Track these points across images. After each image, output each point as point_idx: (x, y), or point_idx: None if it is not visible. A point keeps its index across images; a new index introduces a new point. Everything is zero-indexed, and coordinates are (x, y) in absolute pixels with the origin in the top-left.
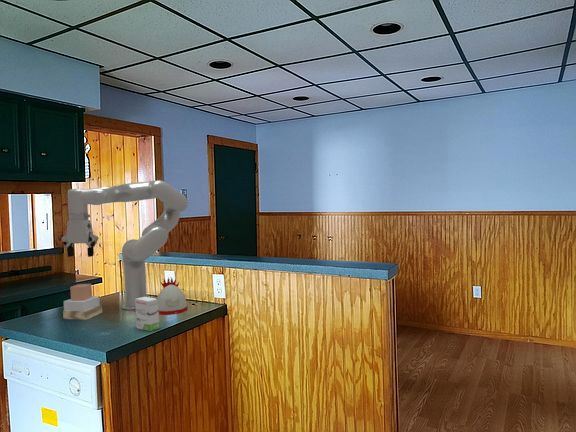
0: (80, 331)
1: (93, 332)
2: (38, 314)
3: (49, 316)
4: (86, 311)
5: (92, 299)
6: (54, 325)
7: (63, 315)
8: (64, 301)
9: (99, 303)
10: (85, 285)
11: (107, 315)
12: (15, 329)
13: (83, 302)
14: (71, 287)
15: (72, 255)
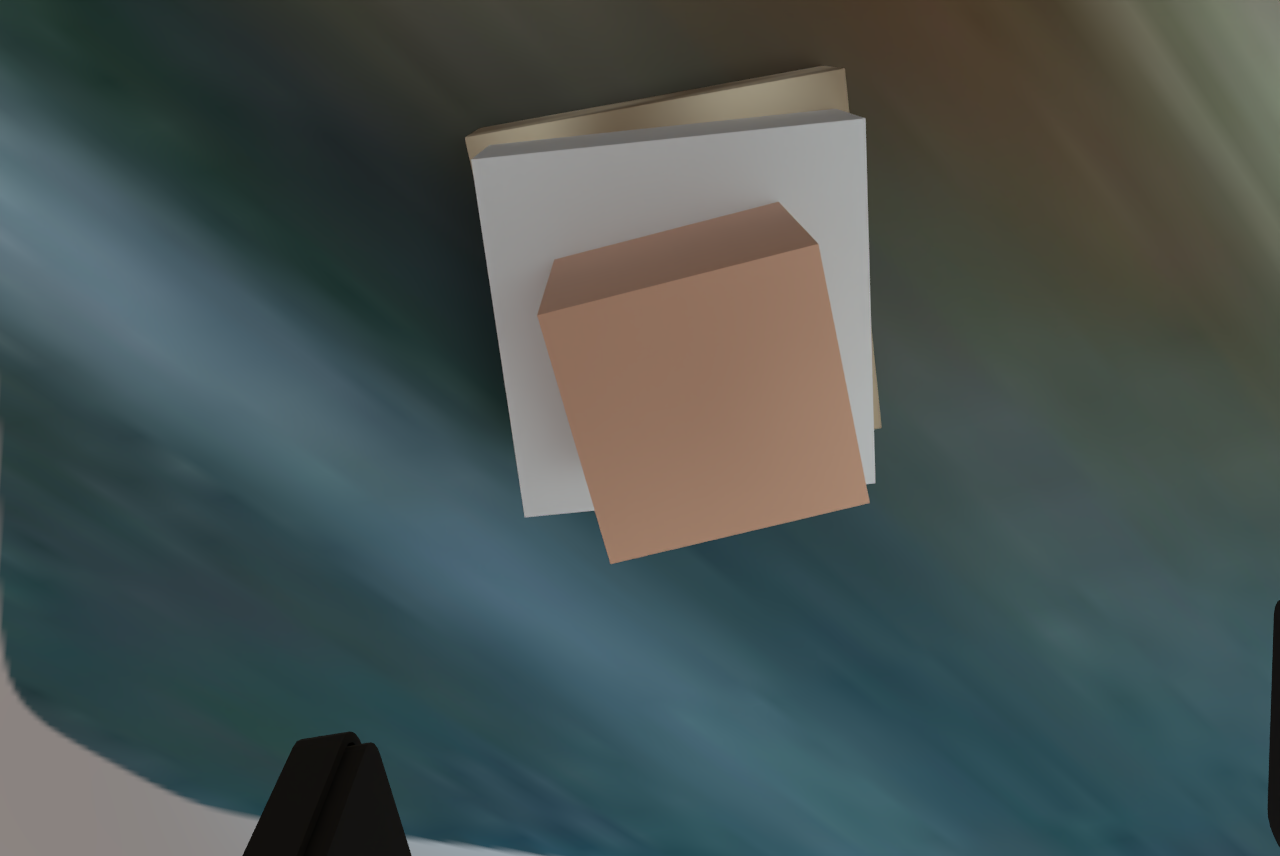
0: (1099, 711)
1: (1254, 701)
2: (35, 382)
3: (272, 412)
4: (880, 419)
5: (866, 285)
6: (665, 645)
7: None
8: (540, 513)
9: (840, 112)
10: (809, 395)
11: (1007, 177)
12: None
13: (874, 478)
14: (634, 556)
15: (387, 814)
